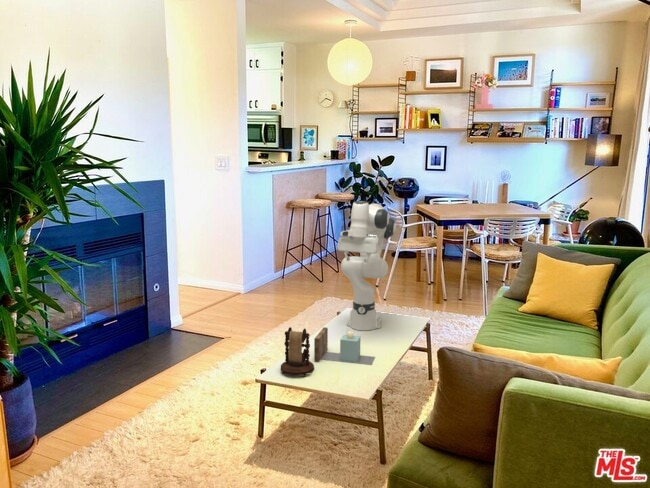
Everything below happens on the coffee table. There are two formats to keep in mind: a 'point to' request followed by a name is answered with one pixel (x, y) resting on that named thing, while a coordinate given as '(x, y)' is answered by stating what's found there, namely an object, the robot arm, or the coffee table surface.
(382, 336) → the coffee table surface
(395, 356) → the coffee table surface
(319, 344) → the backstop wall
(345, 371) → the coffee table surface
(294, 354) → the scroll
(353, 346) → the dowel block
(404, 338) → the coffee table surface
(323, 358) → the grey flat rectangular plate
